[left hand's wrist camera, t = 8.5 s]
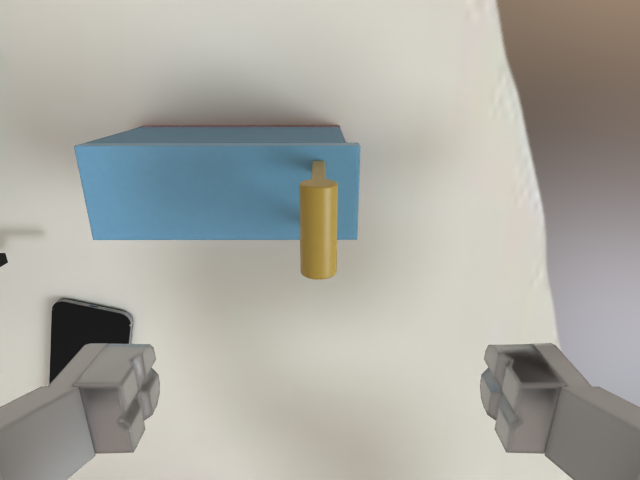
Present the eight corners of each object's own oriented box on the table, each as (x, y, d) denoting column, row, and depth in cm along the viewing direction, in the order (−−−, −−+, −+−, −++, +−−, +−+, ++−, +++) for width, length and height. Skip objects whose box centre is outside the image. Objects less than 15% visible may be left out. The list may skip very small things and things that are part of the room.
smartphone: (132, 316, 40) (118, 437, 45) (135, 312, 40) (121, 432, 46) (51, 299, 39) (47, 424, 44) (55, 295, 40) (51, 419, 45)
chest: (339, 125, 34) (346, 142, 26) (338, 195, 36) (344, 233, 28) (143, 125, 34) (84, 142, 26) (153, 195, 36) (102, 233, 28)
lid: (358, 142, 26) (375, 171, 18) (355, 233, 28) (369, 293, 20) (84, 142, 26) (-16, 171, 18) (101, 233, 28) (19, 294, 20)
